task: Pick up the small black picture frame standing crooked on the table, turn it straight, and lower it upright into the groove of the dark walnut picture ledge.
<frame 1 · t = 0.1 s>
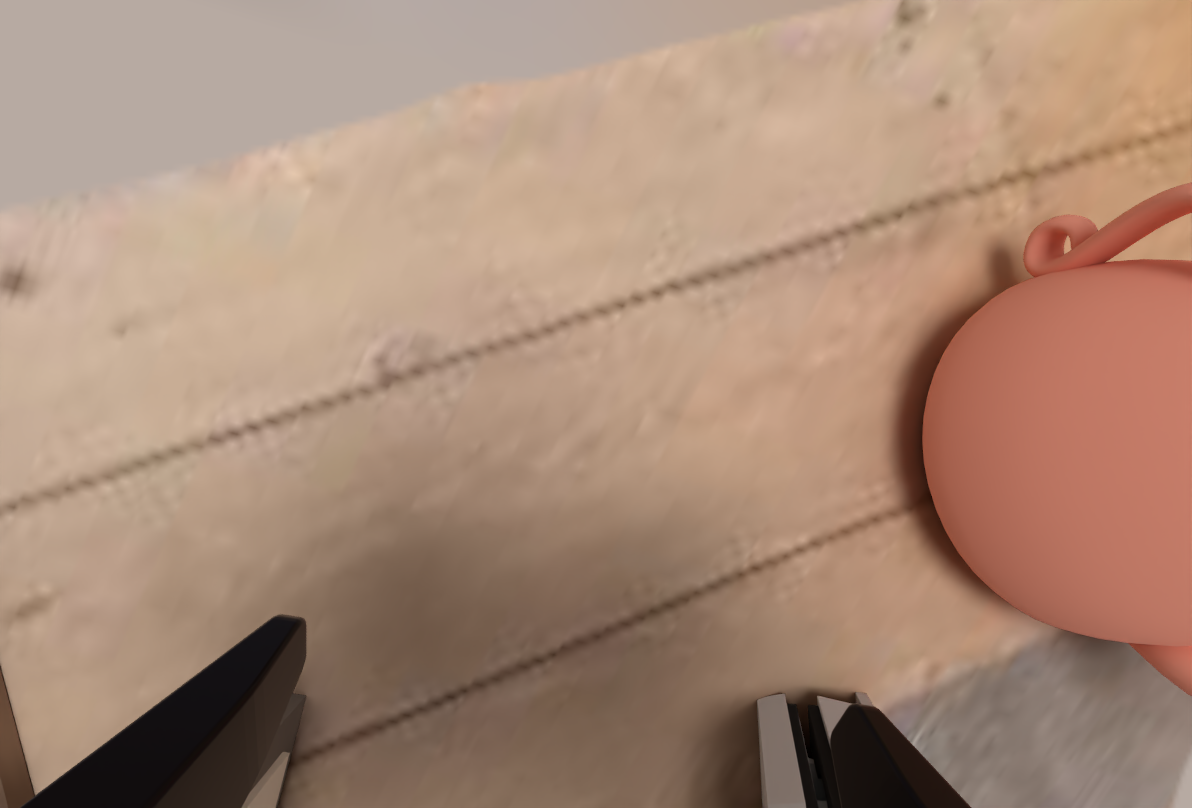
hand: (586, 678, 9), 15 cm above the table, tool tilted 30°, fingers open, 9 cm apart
teapot: (1042, 468, 27), on the table
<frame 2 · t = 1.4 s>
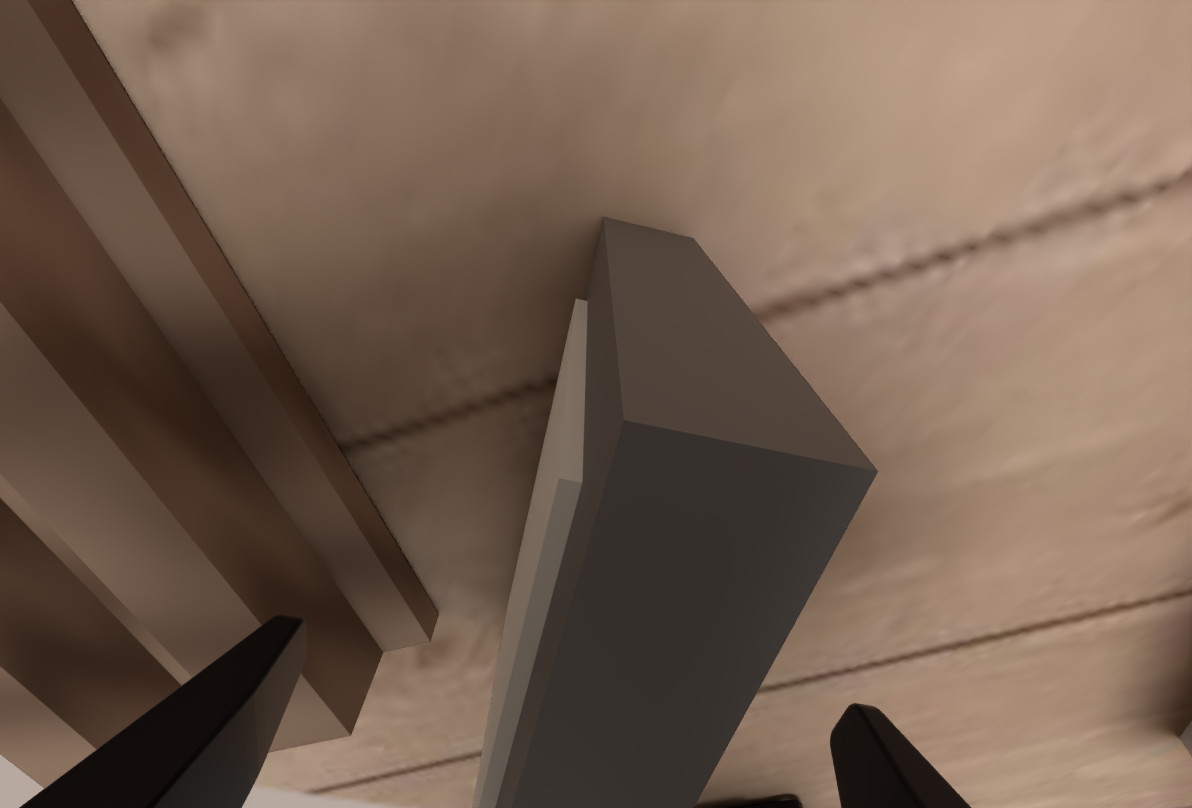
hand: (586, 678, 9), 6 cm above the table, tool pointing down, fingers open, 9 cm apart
walnut ledge: (38, 382, 14), on the table
picture frame: (587, 457, 15), on the table
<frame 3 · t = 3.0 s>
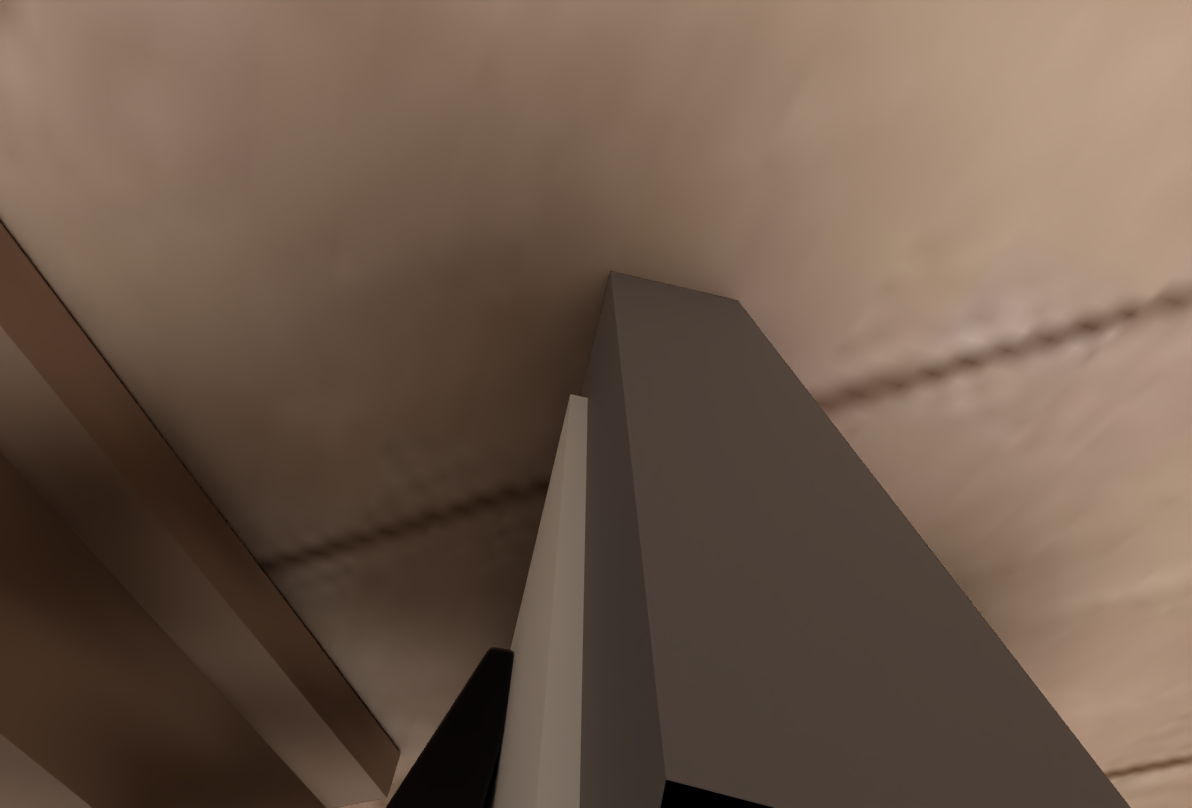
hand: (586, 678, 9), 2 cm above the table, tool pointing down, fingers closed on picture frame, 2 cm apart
picture frame: (587, 577, 11), on the table, touching gripper
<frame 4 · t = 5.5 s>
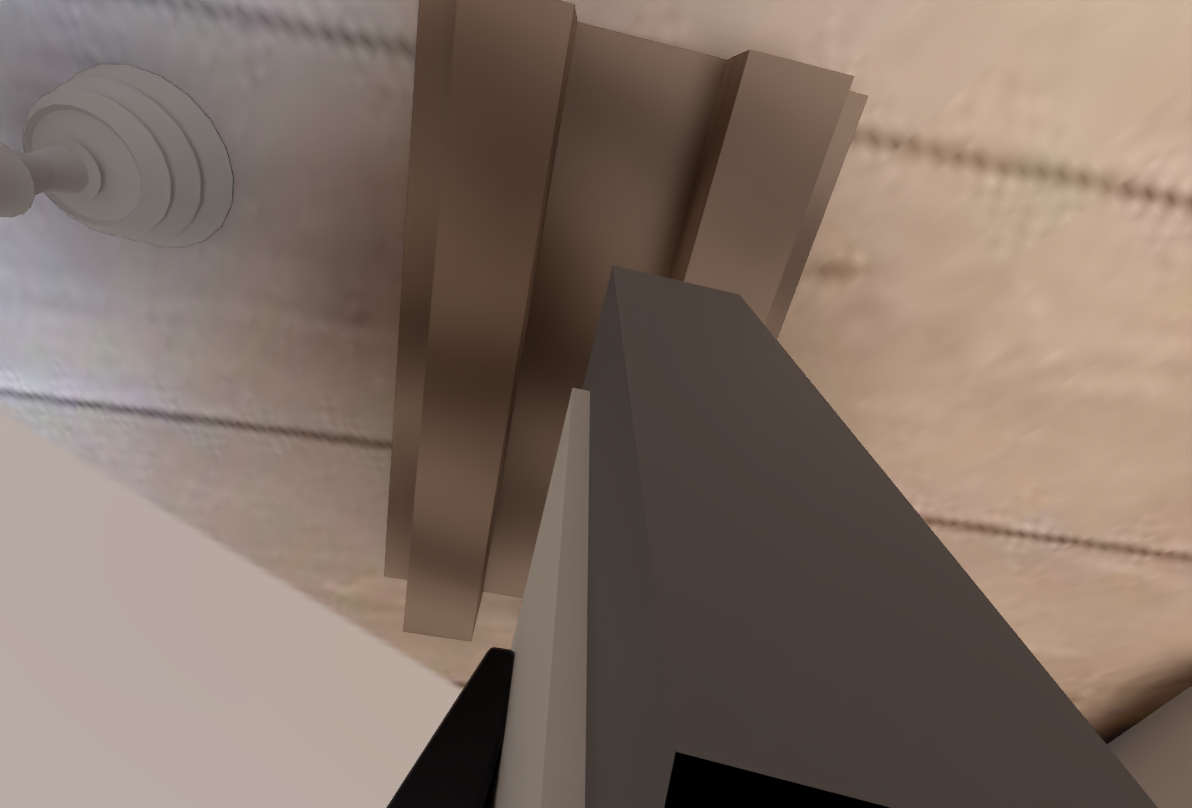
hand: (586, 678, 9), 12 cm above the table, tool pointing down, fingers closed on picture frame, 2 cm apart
chalice: (149, 161, 17), on the table
walnut ledge: (578, 371, 20), on the table
grey two-tone curved device: (1104, 752, 30), on the table
picture frame: (589, 573, 11), point 10 cm above the table, touching gripper
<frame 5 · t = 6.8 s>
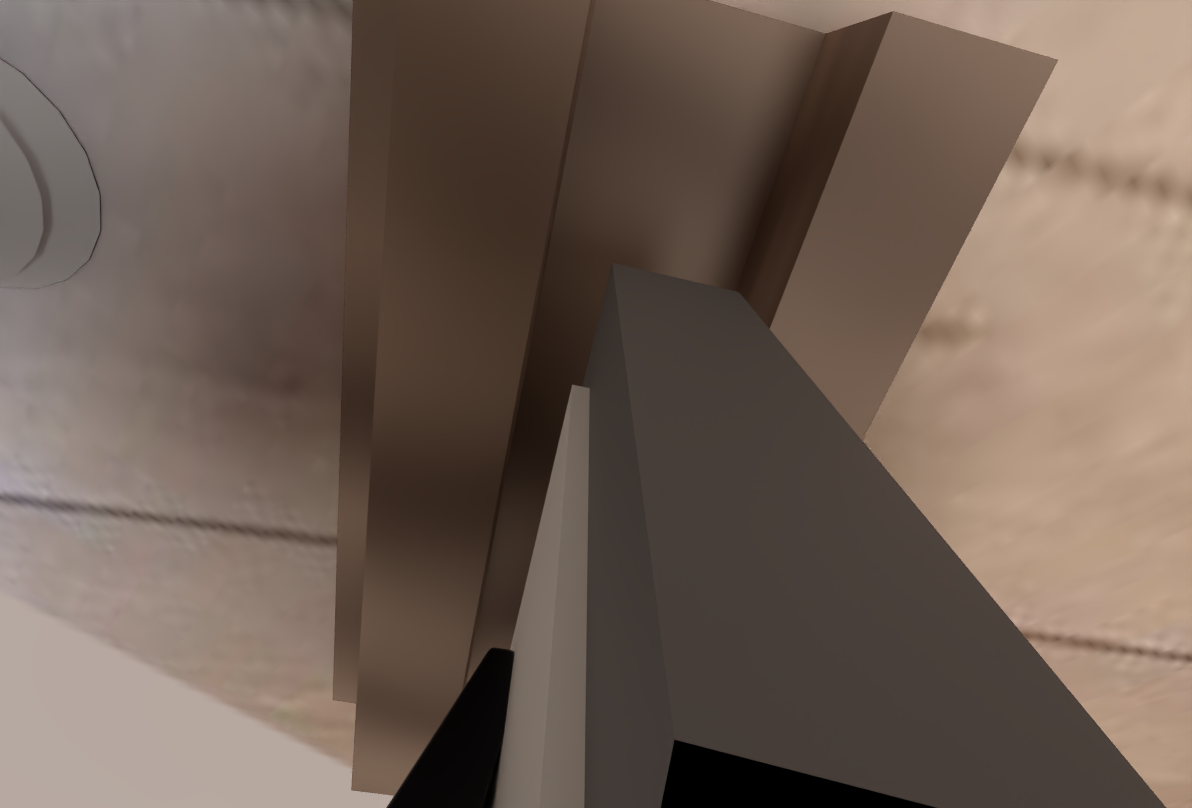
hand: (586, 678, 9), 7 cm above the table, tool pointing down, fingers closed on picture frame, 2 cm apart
walnut ledge: (588, 456, 15), on the table
picture frame: (589, 571, 11), point 4 cm above the table, touching gripper
when the fingers open (5 cm above the table, at t = 7.9 s): picture frame drops 1 cm, resting on walnut ledge.
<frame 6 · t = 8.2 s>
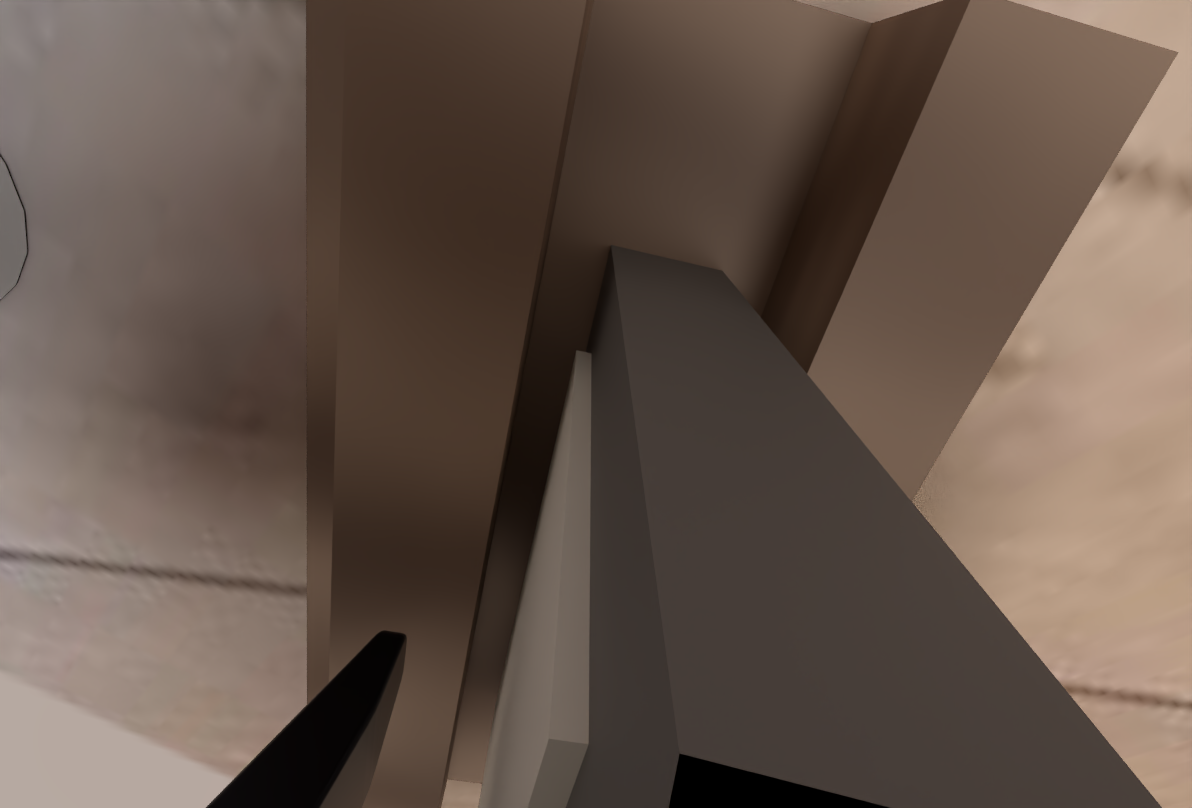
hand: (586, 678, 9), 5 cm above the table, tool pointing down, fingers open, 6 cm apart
walnut ledge: (588, 501, 13), on the table
picture frame: (591, 526, 12), point 1 cm above the table, touching walnut ledge
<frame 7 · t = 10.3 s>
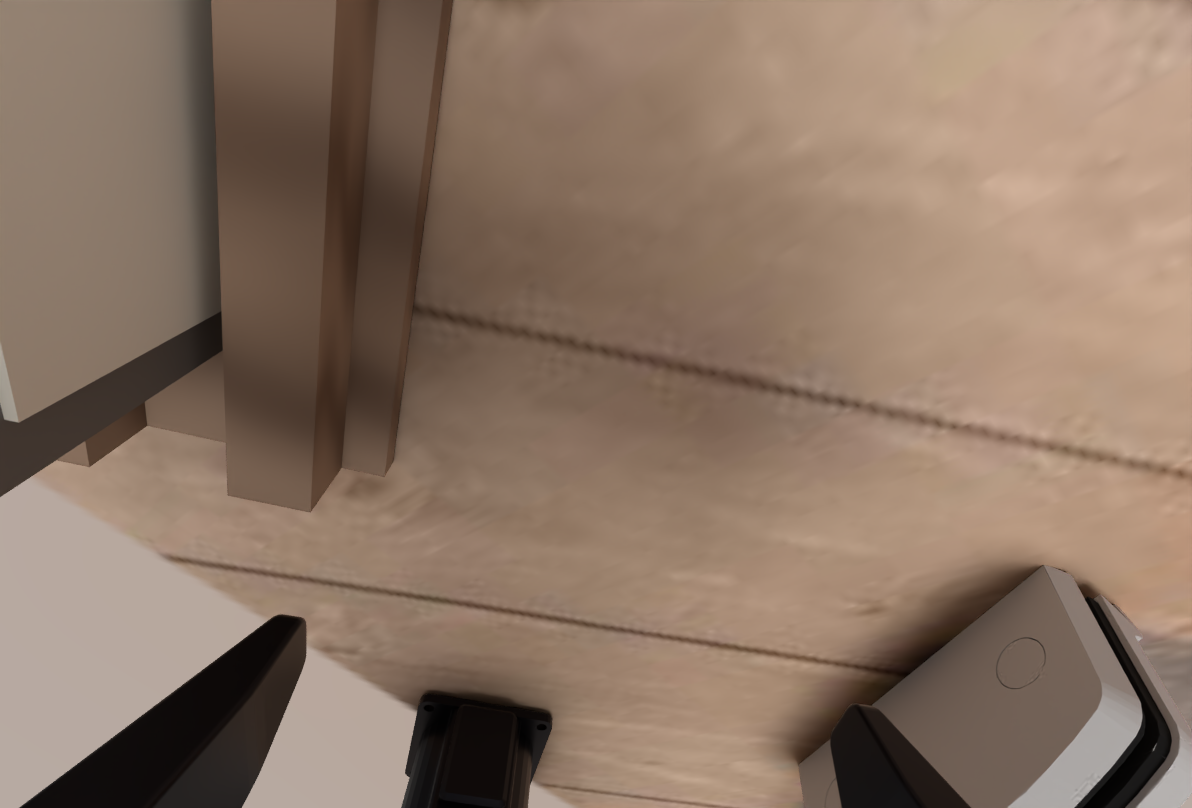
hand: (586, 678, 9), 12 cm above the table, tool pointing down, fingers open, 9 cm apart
walnut ledge: (215, 127, 16), on the table
grey two-tone curved device: (920, 678, 28), on the table
picture frame: (195, 126, 15), point 1 cm above the table, touching walnut ledge
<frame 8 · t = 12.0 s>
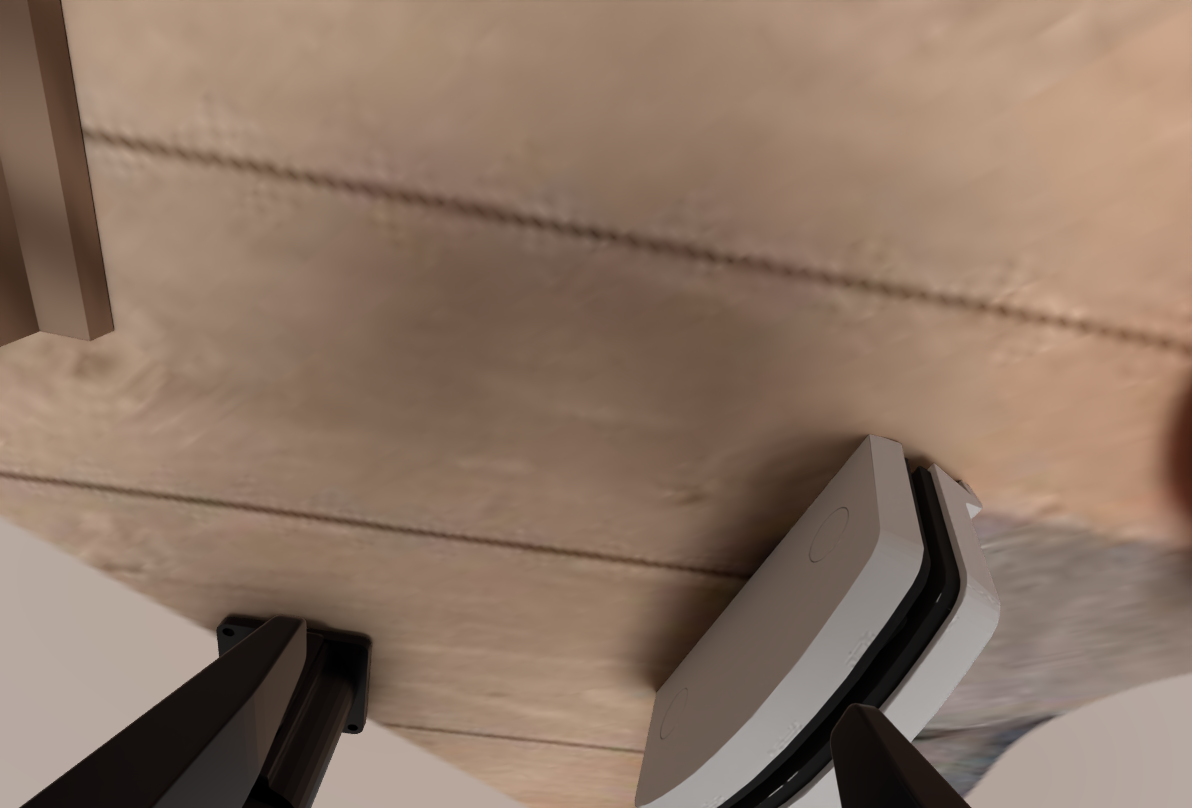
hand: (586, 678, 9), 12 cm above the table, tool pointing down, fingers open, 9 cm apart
grey two-tone curved device: (768, 583, 25), on the table
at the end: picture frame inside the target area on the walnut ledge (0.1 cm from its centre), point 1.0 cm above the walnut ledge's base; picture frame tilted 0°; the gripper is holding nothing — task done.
